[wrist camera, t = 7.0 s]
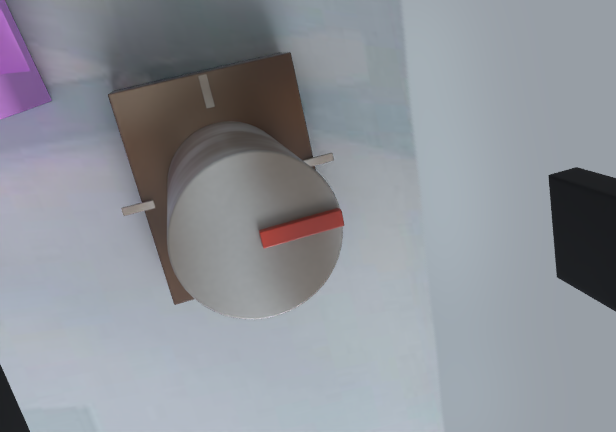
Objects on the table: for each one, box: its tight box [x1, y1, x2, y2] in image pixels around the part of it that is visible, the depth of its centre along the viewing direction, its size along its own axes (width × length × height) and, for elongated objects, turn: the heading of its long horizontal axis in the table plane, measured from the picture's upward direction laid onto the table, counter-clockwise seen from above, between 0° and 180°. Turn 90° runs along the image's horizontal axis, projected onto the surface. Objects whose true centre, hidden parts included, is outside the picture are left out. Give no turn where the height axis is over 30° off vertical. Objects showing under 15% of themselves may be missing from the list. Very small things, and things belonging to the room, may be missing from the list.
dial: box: [167, 121, 344, 319], centre depth 22 cm, size 6×6×9 cm
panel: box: [108, 52, 334, 305], centre depth 27 cm, size 10×10×3 cm
